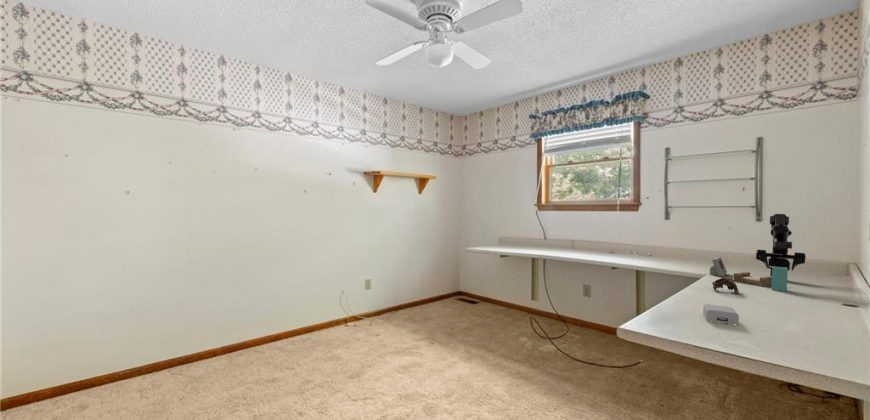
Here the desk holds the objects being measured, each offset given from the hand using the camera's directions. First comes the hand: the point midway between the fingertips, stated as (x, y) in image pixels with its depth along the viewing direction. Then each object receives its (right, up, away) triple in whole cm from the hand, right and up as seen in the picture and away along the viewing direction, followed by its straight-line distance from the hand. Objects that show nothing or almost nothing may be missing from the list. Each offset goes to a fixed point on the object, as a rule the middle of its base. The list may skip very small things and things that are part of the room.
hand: (779, 268), depth 187 cm
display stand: (-1, -10, +14) cm, 17 cm away
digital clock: (-3, -10, +36) cm, 37 cm away
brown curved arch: (-33, -11, -7) cm, 35 cm away
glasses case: (-2, -10, -2) cm, 11 cm away
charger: (-69, -11, -48) cm, 85 cm away
